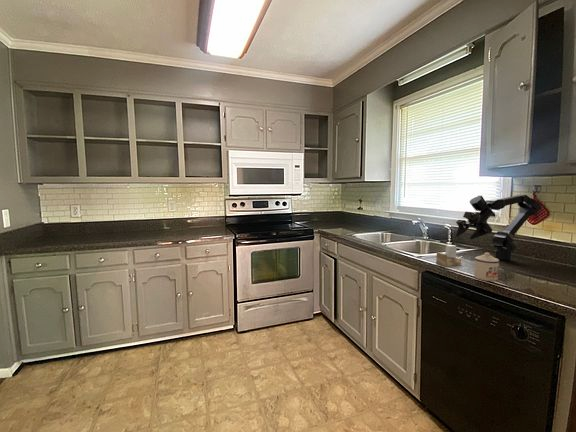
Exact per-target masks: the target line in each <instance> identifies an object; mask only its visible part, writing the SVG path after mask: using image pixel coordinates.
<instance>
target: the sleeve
mask: <svg viewBox="0 0 576 432" xmlns="http://www.w3.org/2000/svg"><path fill="white" fill-rule="evenodd" d="M435 263H436V264H438V265H441V266H444V267H451V266H461V265H462V258H461V257H456V258H452V259H447V255H446V254H445V253H443V252H439V251H437V252H436V261H435Z"/></svg>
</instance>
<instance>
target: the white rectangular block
mask: <svg viewBox="0 0 576 432" xmlns="http://www.w3.org/2000/svg"><path fill="white" fill-rule="evenodd" d="M444 254H446V255H447V259H452V258H457V245H455V244H454V245H453V244H446V245H445V253H444Z"/></svg>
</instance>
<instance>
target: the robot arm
mask: <svg viewBox="0 0 576 432" xmlns="http://www.w3.org/2000/svg"><path fill="white" fill-rule="evenodd" d="M469 204H470V205H471V206H472V208H473V209H474V210H475V212H472V211H464V214H463V216H462V218H465V219H458V220H457V221H455V223H456V226H458V227H457V231H456V234H455V236H456V237H459V236H460V237H461V235H463V234H464V233H466V232H467V230H469V229H470V228H473V229H475V231H474V232H473V233H472V234H471V235H470V237H469V239H470V240H474V239H477V238H480V237H482V236H486V235H491V233H492V232H493V228H492V227H491V225H490V224H489V223H488V220H489V219H490V217H492V218H495V217H496V213H495V211H500V210H502V209H504V208H505V207H507V206H510V205H514V204H517V206H518V207H519V208H518V210H519V211H518V213H517V214H516V216H515V217H514V218H513V219H512V220H511V222H510V223H509V224H508V225H507V227H506V228H505V229H504V230H503V231H496V233H495V234H494V235H493V238H492V245H493V248H496V250H495V257H494V258H497V259H499V261H503V262H505V261H506V262H512V252H513V251H516V247H517V246H516V245H515V243H513V242H514V236H515V234H516V233H517V232H518V231H519V230H520V228H521V227H522V226H523V225H524V224H525V223H526V221H527V220H528V219H529V218H530V217H532V216H535V215H536V214H537V213H539V212H540V211H541V208H542V205H541V204H540V202H538V201H537V200H535V198H534V199H533V198H532V197H529V196H528V195H527V194H516V195H512V196H508V197H503V198H487V199H486V200H485V198H484V197H483V195H477V196H476V197H473V198H471V199H470V200H469ZM493 210H494V211H493ZM466 220H467V221H466Z"/></svg>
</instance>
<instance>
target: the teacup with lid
mask: <svg viewBox="0 0 576 432" xmlns="http://www.w3.org/2000/svg"><path fill="white" fill-rule="evenodd" d="M499 267H500V260H499V259H497V258H495V257H494V256H493V255H491V253H490V252H484V253H483V254H481V255H477V256H475V257H474V272H473V273H474V274H473V275H474V278H475V279H477V280H482V281H485V282H497V281H498V279H499V278H498V277H499V276H498V275H499Z"/></svg>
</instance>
